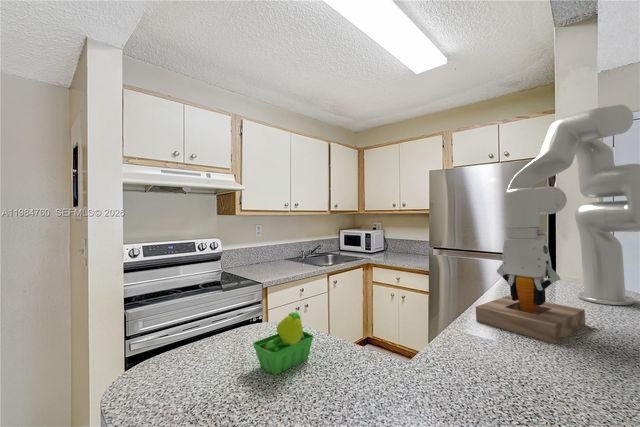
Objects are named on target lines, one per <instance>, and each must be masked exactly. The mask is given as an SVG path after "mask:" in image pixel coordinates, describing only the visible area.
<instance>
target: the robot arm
mask: <svg viewBox="0 0 640 427" xmlns="http://www.w3.org/2000/svg"><path fill="white" fill-rule="evenodd" d="M634 118H635V117H634V113H633V111H632V110H631V108H630V107H628V106H626V105H625V104H615V105H608V106H602V107H596V108H592V109H588V110H584V111H581V112H579V113H578V112H577V113H574V114H570V115H568V116H564V117H561V118H558V119H557V120H555V121H553V122H552V123H551V124H550V125H549V127H548V129H547V131H546V134H545V136H544V138H543V141H542V144H541V146H540V149H539V151H538V153H537V156H536V157H535V158H534V159H532V160H531V161H529V163H527V164H526V165H524V167H523V168H522V169H520V170H519V171H517V173H516V174H515V175H514V176H512V179H511V180H510V182H509V185H508V186H507V189H506V191H505V192H504V197H503V198H504V199H503V203H504V204H503V205H504V212H505V226H506V228H505V229H506V238H505V239H504V241H503V246H502V263H501V265H500V266H499V267H498V268H497V270H496V273H497V274H498V275H499V276H500V277H502V279H504V280H505V282H506V283H507V285H508V286H509V288H510V290H509V291H510V296H512V300H513V301H516V300H519V299H518V296H517V290H516V281H515V278H516V276H521V277H529V278H533V279H534V281H535V284H536V287H537V289H536V290H535V303H536V305H538V306H540V305H542V304H544V302H546V301H547V300H546V289H547V288H548V287H550V286H551V285H553V284H554V283H557V282H558V281H560V280H561V276H560V275H559V274H557V272H556V271H555V270H554V269H553V268H552V267H553V266H552V259H551V256H550V252H549V248H548V243H547V240H546V239H544V238H543V236H547V235H548V230H547V229H542V227H541V217H540V215H553V214H556V213H559V212H560V211H562V210H563V209H564V208H565V207H566V205H567V196H566V193H565V192H564V191H563V190H562V189H560V187H559V188H558V187H556V186H540V187H534V186H536V185H537V184H539V183H540V182H543V181H545V180H547V179H549V178H551V177H552V178H553V177H554V176H556V175H558V174H560V173H562V172H564V171H565V170H568V169H569V168H570V167H571V166H572V164H573V162H574V159H575V157H576V161H577V172H578V174H577V175H578V184H579V185H578V186H579V191H580V194H581V195H582V196H583V197H586V198H591V199H592V198H593V199H596V198H597V199H598V198H612V197H614V198H615V197H626V200H613V201H612V200H610V201H608V200H607V201H595V202H587V203H583V204H581V205H579V206H578V207H577V208H576V209H575V212H574V219H575V224H576V226H577V231H578V232H579V233H578V234H579V239H580V250H581V251H580V253H581V264H582V265H581V266H582V267H581V268H582V280H583V283H582V284H583V291H580V292H578V294H577V298H579V299H581V300H583V301H587V302H590V303H596V304H601V305H609V306H630V305H633V304H634V299H633V297H632V298H631V297H630V296H627V295H626V285H625V284H626V282H625V268H624V255H623V254H624V253H623V247H622V246H623V245H622V244H621V241H620V240H619V239H618V238H617V237H616V236H615V235H614V234H613V233H614V232H615V233H617V232H621V233H622V232H623V233H632V232H633V233H640V163H628V164H627V163H626V164H619V165H615V159H614V151H613V149H612V148H611V147H610V146H609V145H608V144H607V143H606V142H603V141H602V140H599V139H603V138H607V137H608V138H609V137H614V136H619V135H623V134H625V133H627V132H628V131H629V130H630V129H631V127H632V126H633V124H634V121H635V120H634ZM522 267H523V268H524V269H523V268H522ZM545 277H549V278H548V279H545Z"/></svg>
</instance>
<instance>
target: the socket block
mask: <svg viewBox="0 0 640 427" xmlns="http://www.w3.org/2000/svg"><path fill="white" fill-rule="evenodd" d="M474 308H475V321H476V322H479V323H482V324H484V325H489V326H491V327H492V326H493V327H495V328H500V329H502V330H506V331H510V332H514V333H515V334H517V333H518V334H521V335H522V336H523V335H524V336H527V337H531V338H534V339H537V340H542V341H545V342H549V343H551V344H557V343H559V342H560V341H562V340H565V338H567V337H569V336H570V335H572V334H573V333H575V332H577V331H578V330H580V329H581V328H584V327H585V326H586V310H585V309H583V308H578V307H575V306H574V307H573V306H569V305H568V306H567V305H563V304H558V303H552V302H548V301H547V302H546V301H545V302H544V304H542V305H540V306H538V305H537V306H536V309H535V312H534V313H533V314H531V313H527V312H524V311H523V310H522V308H521V306H520V303H519V300H516V301H513V300H512V296H511V294H508V295H505V296H503V297H500V298H497V299H494V300H491V301H488V302H485V303H482V304H479V305H477V306H476V305H475V307H474Z"/></svg>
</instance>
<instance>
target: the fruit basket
mask: <svg viewBox="0 0 640 427" xmlns="http://www.w3.org/2000/svg"><path fill="white" fill-rule="evenodd" d="M301 318H302V317H301V315H300V313H298V312H295V311H292V312H290V313H288V315H287V316H285V317H284V318H283V319H282V320H281V321H280V322H279V323H278V324H277V325H276V326H277V327H276V332H277V333H275V334H273V335H270V336H268V337H265V338H262V339H259V340H256V341H253V343H252V345H253V349H254V350H255V352H256V356H257V358H258V363H259V366H260V368H262V369H264V370H265V371H266V372H268V373H271V374H272V375H273V376H276V375H278V374H280V373H282V372H283V371H287V370H288V369H290V368H292V367H294V366H297V365H300V363H302V362H305V361H307V360H308V359H309V355H310V351H311V346H312V342H313V340H314V335H313V334H310V333H308V332H307V331H304V327H303V324H302V320H301Z"/></svg>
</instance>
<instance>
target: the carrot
mask: <svg viewBox="0 0 640 427" xmlns="http://www.w3.org/2000/svg"><path fill="white" fill-rule="evenodd" d="M522 268H523V267H522ZM523 269H524V268H523ZM515 281H516V290H517V296H518V299H519V303H520V306H521V308H522V310H523V311H524V312H527V313H531V314H533V313H534V312H535V309H536V306H537V305H536V303H535V290H536V289H537V287H536V284H535V281H534V279H533V278H529V277H521V276H516V278H515Z"/></svg>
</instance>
